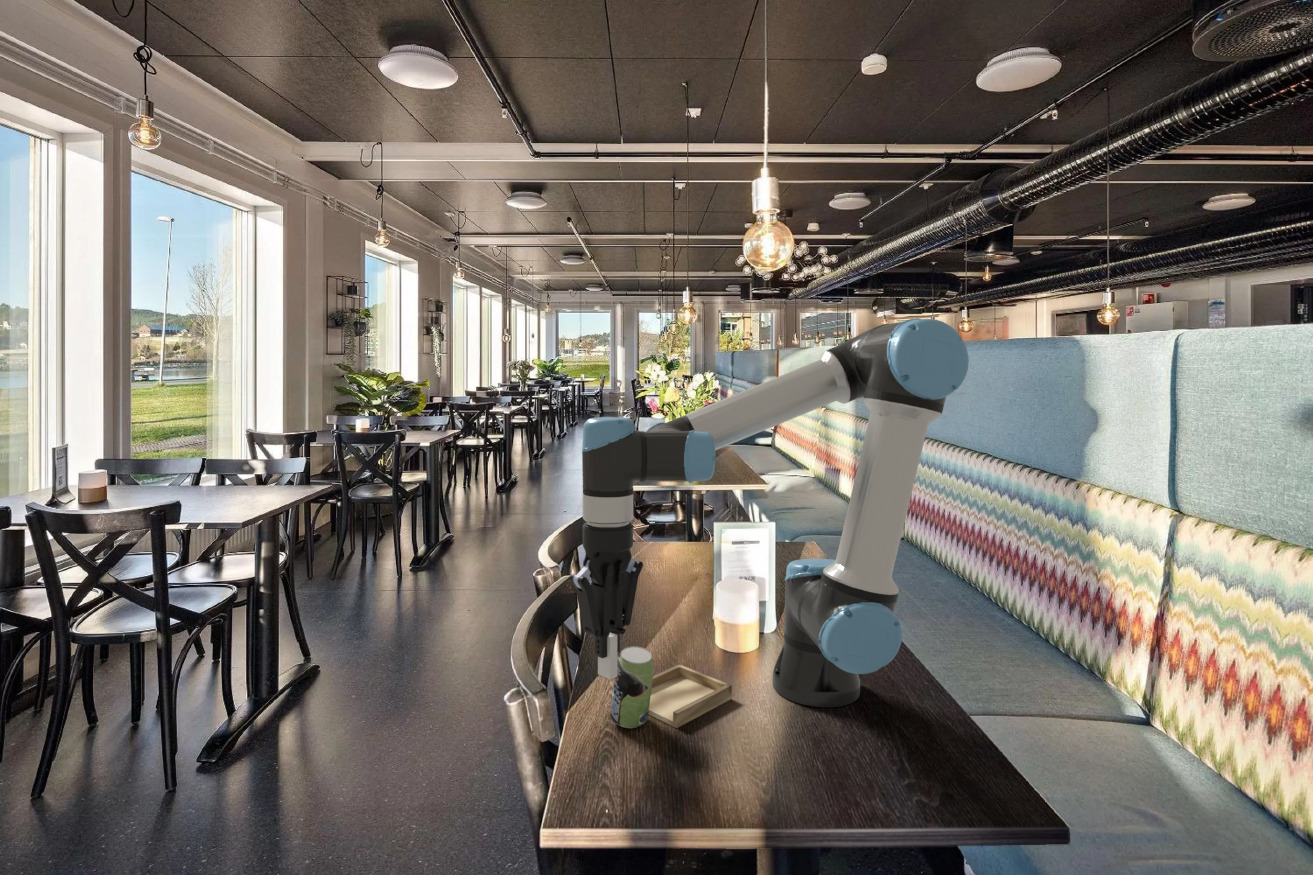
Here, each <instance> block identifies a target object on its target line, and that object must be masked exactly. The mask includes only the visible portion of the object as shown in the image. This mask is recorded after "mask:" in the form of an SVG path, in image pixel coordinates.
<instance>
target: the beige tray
mask: <svg viewBox="0 0 1313 875" xmlns="http://www.w3.org/2000/svg"><path fill="white" fill-rule="evenodd" d="M732 687H733V685H732V684H729V683H727V682H725V681H722V680H719V679H717V678H714V677H712V676H710V675H707V674H704V673H702V672H700V671H697V670H694V669H692V668H689V667H687V666H685V665H682V664H678V665H675V666H672V667H671V668H668V669H666V670H663V671H661V672H659V673H657V674H653V680H652V688H651V696H650V704H649V712H648V716H651V717H653V718H654V719H657V720H660V721H661V722H663V723H665V724H668V725H669V726H671V727H673V728H675V729H679V728H680V727H682V726H684V725H686V724H687V723H690V722H691V721H693V720H694V719H697V718H699V717H700V716H703V715H704V714H706V713H708V712H710V711H712V710H713V709H715V708H718V707H719V706H721V705H723V704H725V703H727V702H729V701H730V700H732V695H733V694H732V691H733V690H732V689H733V688H732Z"/></svg>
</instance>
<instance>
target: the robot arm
mask: <svg viewBox="0 0 1313 875" xmlns="http://www.w3.org/2000/svg"><path fill="white" fill-rule="evenodd" d="M969 362H970V360H969V352H968V348H967V346H966V343H965V341H964V340H963V339H962V337H961V335H960V333H959V332H958V331H957V330H956V329H955V328H954V327H952V326H951V325H949V324H948V323H946V322H944V321H942V320H939V319H935V318H918V317H916V318H910V319H909V318H908V319H907V320H905V321H898V322H892V323H886V324H885V323H884V324H881V325H877V326H874V327H871V328H870V329H867V330H866V331H863V332H862V333H859V334H858V335H856V336H854V337H852V338H850V339H848V340H847V341H844V342H842V343H840V344H838V345H836V346H834V347H832V348H829V349H826V350H823V351H822V352H821V354H820V357H819V359H818V360H816V361H813V362H810V363H809V364H806V365H804V366H801V367H799V368H796V369H793V370H791V371H789V372H787V373H784V374H781V375H779V376H777V377H774V378H771V379H769V380H766V381H765V382H762V383H759V384H757V385H755V386H753V387H750V388H747V389H745V390H743V391H740V392H738V393H735V394H733V395H730V396H728V397H725V398H724V399H721V400H718V401H716V402H713V403H711V404H708V405H706V406H703V407H701V408H699V409H696V410H694V411H691V412H688V413H687V414H685V415H682V416H679V417H676V418H674V419H672V420H669V421H667V422H658V423H656V424H654V425H652V426H650V427H649V428H647V429H646V430H645V431H641V430H636V427H635V423H634V420H633V419H631V417H630V418H629V417H621V416H620V417H614V416H606V417H604V416H601V417H590V418H589V419H586V421H585V422H584V424H583V426H582V428H583V430H582V431H583V432H582V444H581V445H582V447H581V455H582V456H581V457H582V458H581V459H582V460H581V462H582V464H581V466H582V468H581V469H582V519H583V520H584V521H585V522H584V523H583V524H582V547H583V549H584V552H585V555H584V558H583V562H582V568H581V570H579V571H578V572H577V574H576V573H572V574H570V576H569V580H570V582H571V584H572V586H573V587H574V588H575V593H576V598H577V602H578V603H577V605H578V609H579V613H580V617H581V623H582V629H583V633H586V634H589V635H591V636H594V655H595V656H596V657H597V674H598V675H599V676H600V677H603V678H606V679H607V680H612V679H613V680H614V678H615V677H617V657H618V653H619V652H620V649H621V646H620V645H621V635H624V634H625V633H626V628H624V627H625V626H627V627H628V626H630V624H631V621H632V615H633V611H634V610H633V609H634V605H635V599H636V594H637V586H638V581H639V576H640V574H641V571H642V570H643V567H644V563H643V562H642V561H640V560H637V559H634V558H633V557H632V556H633V555H632V552H631V549H632V547H633V546H634V524H633V523H632V521H633V520H634V483H637V482H638V483H639V482H640V483H644V482H645V483H646V482H655V483H656V482H658V483H659V482H664V483H666V482H668V483H670V482H671V483H672V482H673V483H674V482H682V483H683V482H684V483H690V484H692V483H693V482H705V481H707V482H708V481H710V480H711V479H712V478H713V476H714V475H715V474H714V473H715V470H716V459H717V458H716V451H718V450H720V449H722V448H725V447H727V446H730V445H732V444H735V443H737V442H739V441H741V440H744V439H747V438H749V437H752V436H754V435H756V434H758V433H761V432H764V431H766V430H768V429H771V428H774V427H777V426H778V425H779V426H780V425H781V424H783V423H785V422H789V421H791V420H793V419H795V418H797V417H801V416H802V415H805V414H808V413H810V412H812V411H814V410H817V409H821V408H822V407H824V406H827V405H829V404H832V403H835V402H838V403H840V404H847V403H850V402H852V401H855V400H858V399H861V398H862V399H863V400H862V401H863V403H864V405H865V406H866V408H867V409H868V411H869V416H868V422H867V426H866V430H865V433H864V434H865V435H864V438H863V443H862V446H861V451H860V455H859V460H858V464H857V467H856V473H855V478H854V482H853V486H852V491H851V493H850V494H851V495H850V499H849V503H848V507H847V512H846V514H845V520H844V523H843V528H842V531H841V532H842V533H841V536H840V541H839V545H838V550H837V554H836V558H835V559H832V558H831V559H830V558H803V559H796V560H792V561H790V562H789V563H788V564H787V565H786V572H785V574H786V575H785V578H784V582H785V586H784V587H785V589H784V590H785V591H784V592H785V594H784V595H785V596H784V623H783V624H784V626H783V627H784V629H783V644H782V647H781V648H780V652H779V654H778V656H777V660H776V662H775V664H774V667H773V670H772V687H773V689H774V691H775V692H776V693H777V694H779V695H780V696H781V697H783V698H785V699H786V700H789V701H791V702H794V703H796V704H800V705H804V706H809V707H815V708H837V707H844V706H848V705H850V704H853V703H855V701H857V700H858V699H859V697H860V693H861V678H860V676H859V675H865V674H866V675H867V674H871V673H874V672H875V673H876V672H877V671H878V670H879V669H882V668H883V667H885V666H887V665H888V664H890V662H892V661H893V659H894V658H895V657H896V656H897V654H898V652H899V650H900V648H901V645H902V641H903V629H902V628H903V627H902V625H901V623H900V620H899V618H898V617H897V614H896V613H895V610H896V606H897V601H898V598H899V593H900V592H899V591H900V588H899V587H898V585H897V584H896V583H895V581H894V579H893V571H894V568H895V564H896V559H897V556H898V552H899V548H900V543H901V539H902V536H903V531H904V527H905V521H906V517H907V515H908V510H909V506H910V501H911V497H912V492H913V490H914V485H915V481H916V476H917V472H918V467H919V464H920V460H921V457H922V456H921V455H922V452H923V447H924V443H925V439H926V435H927V431H928V427H929V425H930V424H931V423H932V422H934V421H936V420H937V419H939V418H940V417H942V415H943V413H944V412H943V411H944V407H945V403H946V398H947V396H950V395H951V394H953V393H954V392H955V391H956V390H958V389H959V388H960V387H961V385H962V384H963V383H964V381H965V379H966V377H967V373H968V370H969Z"/></svg>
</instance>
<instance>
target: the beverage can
mask: <svg viewBox="0 0 1313 875" xmlns="http://www.w3.org/2000/svg"><path fill="white" fill-rule="evenodd" d="M654 673H655V661H654V659H653V655H652V653H651V652H650V650H648V649H647V648H644V647H641V646H634V645H633V646H627V647H624V648H623V649H622V650H621V652H620V653H619V655H617V677H615V678H613V686H612V695H611V702H610V703H611V704H610V711H609V716H610V718H611V720H612V721H613V722H614V723H615V724H617V725H618V726H620V727H621V728H625V729H635V728H636V729H637V728H638V727H641V726H643V725H645V723H646V722H647V721H648V718H649V714H648V712H649V704H650V696H651V688H652V680H653V676H654Z"/></svg>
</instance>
